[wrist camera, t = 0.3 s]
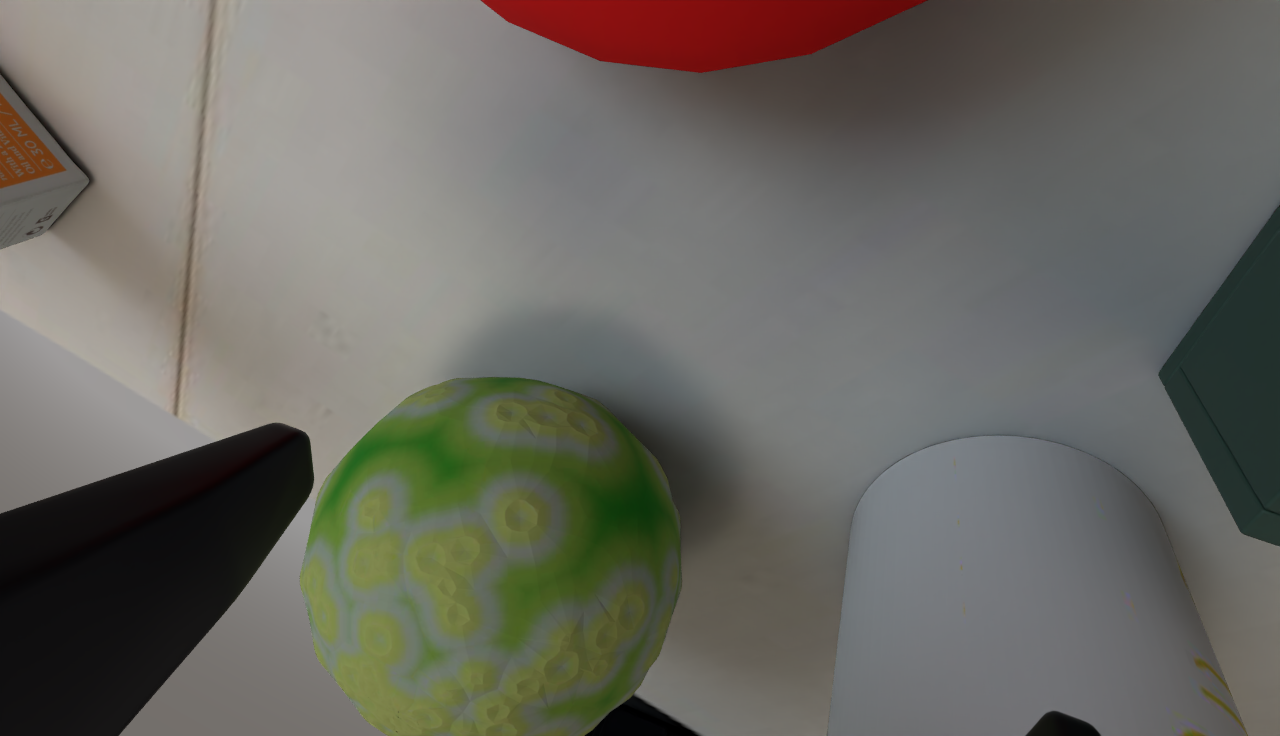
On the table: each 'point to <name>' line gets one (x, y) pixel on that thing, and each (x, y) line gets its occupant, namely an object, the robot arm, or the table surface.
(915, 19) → the table surface
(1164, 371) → the bin
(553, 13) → the flat cone with hole
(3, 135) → the cosmetic box
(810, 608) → the table surface
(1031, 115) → the table surface
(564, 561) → the decorative ball
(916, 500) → the white cylinder block
